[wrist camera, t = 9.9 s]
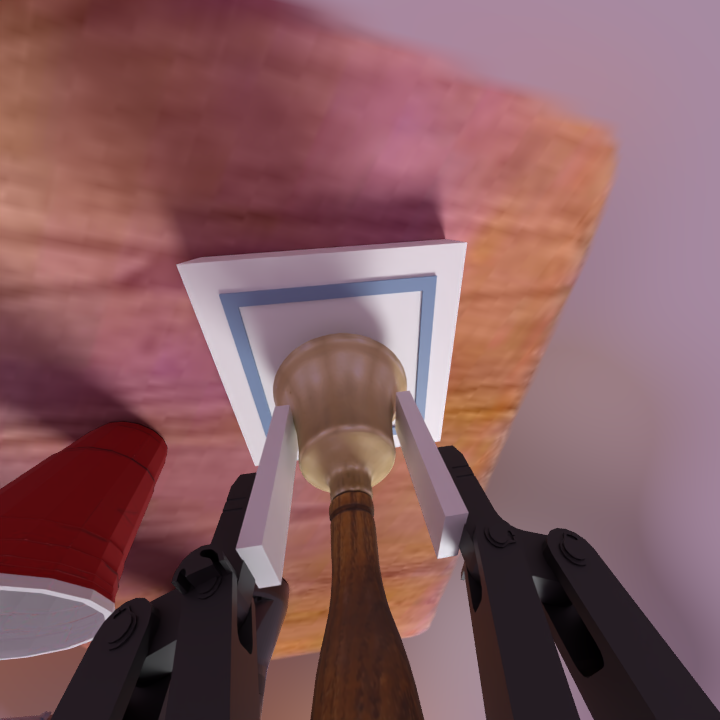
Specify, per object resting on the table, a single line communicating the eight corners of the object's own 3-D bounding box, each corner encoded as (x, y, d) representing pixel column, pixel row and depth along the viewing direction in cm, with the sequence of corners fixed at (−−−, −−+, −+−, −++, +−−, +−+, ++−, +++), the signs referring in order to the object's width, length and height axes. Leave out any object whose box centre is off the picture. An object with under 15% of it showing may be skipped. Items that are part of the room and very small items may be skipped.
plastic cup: (149, 499, 26) (31, 687, 16) (28, 442, 21) (-265, 660, 11) (227, 450, 24) (150, 627, 14) (113, 374, 19) (-145, 560, 9)
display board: (263, 438, 24) (254, 467, 21) (200, 257, 16) (174, 265, 13) (428, 418, 25) (440, 442, 22) (445, 238, 17) (468, 242, 14)
